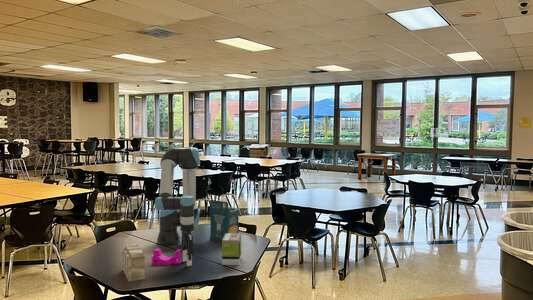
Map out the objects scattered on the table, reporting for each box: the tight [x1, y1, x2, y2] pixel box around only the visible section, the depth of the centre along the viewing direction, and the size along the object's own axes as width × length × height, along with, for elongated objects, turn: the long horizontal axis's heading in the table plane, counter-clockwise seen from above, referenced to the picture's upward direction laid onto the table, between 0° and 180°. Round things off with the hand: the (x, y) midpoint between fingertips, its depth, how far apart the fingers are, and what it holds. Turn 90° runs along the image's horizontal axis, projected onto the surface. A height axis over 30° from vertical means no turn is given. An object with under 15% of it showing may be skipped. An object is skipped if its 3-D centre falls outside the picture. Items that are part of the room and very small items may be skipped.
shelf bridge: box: [122, 243, 146, 282], centre depth 210 cm, size 18×8×14 cm, turn 28°
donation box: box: [209, 199, 240, 243], centre depth 280 cm, size 16×16×28 cm
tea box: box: [221, 232, 242, 266], centre depth 233 cm, size 15×10×15 cm, turn 178°
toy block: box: [151, 248, 182, 266], centre depth 229 cm, size 15×6×8 cm, turn 84°
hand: (187, 263), depth 228 cm, fingers open, 7 cm apart
